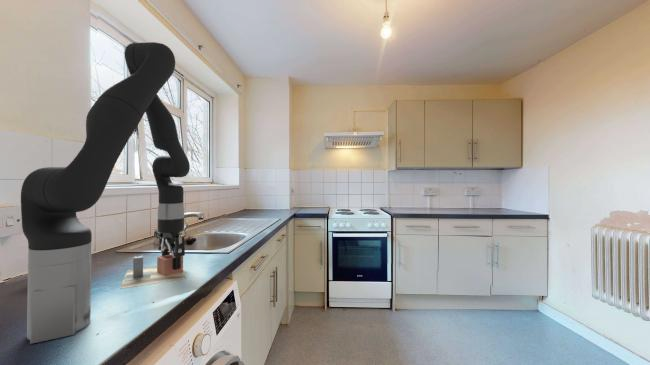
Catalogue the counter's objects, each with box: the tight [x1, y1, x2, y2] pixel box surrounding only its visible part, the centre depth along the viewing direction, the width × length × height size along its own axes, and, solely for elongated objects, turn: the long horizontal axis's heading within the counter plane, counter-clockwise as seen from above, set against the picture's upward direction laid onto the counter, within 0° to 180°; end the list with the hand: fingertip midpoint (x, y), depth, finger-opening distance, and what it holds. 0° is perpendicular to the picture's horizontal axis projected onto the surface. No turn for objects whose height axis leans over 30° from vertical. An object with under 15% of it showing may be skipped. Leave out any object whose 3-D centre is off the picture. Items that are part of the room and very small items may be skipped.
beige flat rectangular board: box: [119, 265, 187, 289], centre depth 84 cm, size 18×16×1 cm
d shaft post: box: [132, 255, 144, 278], centre depth 82 cm, size 2×2×7 cm
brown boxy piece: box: [156, 253, 184, 276], centre depth 87 cm, size 6×6×5 cm
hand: (170, 266), depth 87 cm, fingers open, 8 cm apart
